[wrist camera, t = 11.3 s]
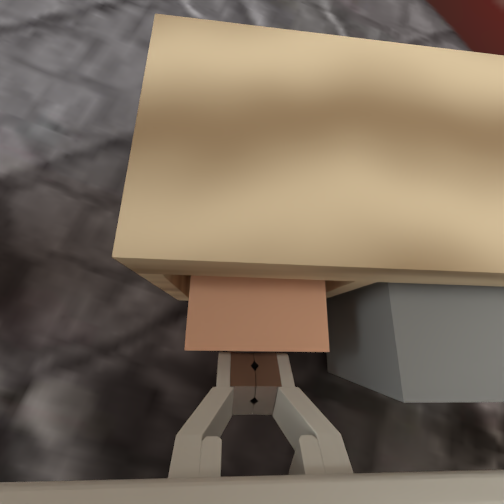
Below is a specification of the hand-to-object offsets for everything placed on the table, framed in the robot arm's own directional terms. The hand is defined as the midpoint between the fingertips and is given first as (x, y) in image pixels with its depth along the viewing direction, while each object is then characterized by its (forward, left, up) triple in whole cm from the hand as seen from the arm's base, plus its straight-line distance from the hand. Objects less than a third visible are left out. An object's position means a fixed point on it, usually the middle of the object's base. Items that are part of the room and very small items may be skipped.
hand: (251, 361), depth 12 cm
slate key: (+7, -4, -4) cm, 9 cm away
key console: (+11, -1, -4) cm, 11 cm away
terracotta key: (+4, +3, -4) cm, 6 cm away
